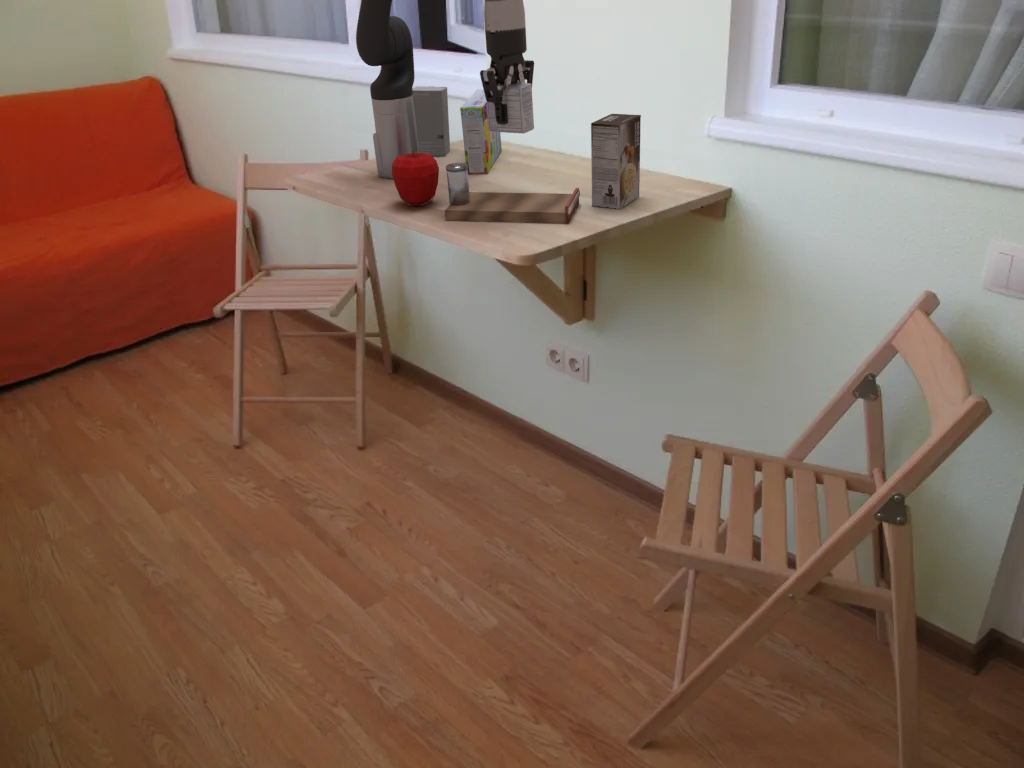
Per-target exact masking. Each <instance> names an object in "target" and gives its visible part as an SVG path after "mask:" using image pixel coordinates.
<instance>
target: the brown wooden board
mask: <svg viewBox="0 0 1024 768" xmlns="http://www.w3.org/2000/svg"><path fill="white" fill-rule="evenodd" d="M469 196H470V203H468V204H465V205H451V204H450V203H449V205H448V206H447V207H446V208H445V209H444V215H445V221H461V220H468V221H467V222H469V221H470V222H502V223H503V222H504V223H505V222H507V223H539V224H540V223H541V224H542V223H544V224H546V223H547V224H569V223H570V221H571V219H572V218H573V215H575V212H576V210H577V209H578V207H579V205H580V196H581V190H580V187H575V189H574V190H573V192H572V193H557V192H556V193H555V192H553V193H551V192H550V193H548V192H545V193H543V192H542V193H541V192H497V191H496V192H495V191H494V192H492V191H491V192H490V191H489V192H487V191H486V192H484V191H469ZM472 220H473V221H472Z"/></svg>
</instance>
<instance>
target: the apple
mask: <svg viewBox="0 0 1024 768" xmlns="http://www.w3.org/2000/svg"><path fill="white" fill-rule="evenodd" d="M439 174H440V167H439V164H438V162H437V159H436V158H434V156H431V155H429V154H427V153H413V151H412V153H409V154H405V155H400V156H397V157H396V159H395V160H394V161H393V163H392V177H393V183H394V187H395V188H396V192H398V195H399V198H400V199H401V201H403V202H405V203H406V204H407V205H408V206H410V207H418V206H419V207H420V206H423V205H425V204H428V203H429V202H430V201H431V200H432V199H434V198H435V196H436V193H437V188H438V185H439Z"/></svg>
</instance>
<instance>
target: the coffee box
mask: <svg viewBox="0 0 1024 768" xmlns="http://www.w3.org/2000/svg"><path fill="white" fill-rule="evenodd" d="M641 117H642V115H641V114H629V113H628V114H626V113H610V114H608V115H606V116H604V117H602V118H600V119H598V120H596V121H593V122H591V123H590V136H591V137H590V139H591V141H590V142H591V143H590V145H591V148H590V151H591V152H590V153H591V154H590V155H591V206H592V207H598V206H600V207H599V208H606V207H609V208H608V209H614V208H616V209H615V210H622V208H624V207H626V206H627V205H628V204H630V203H631V202H633V201H634V200H636V199H637V198H639V197H640V181H641V180H640V179H641V178H640V176H641V175H640V174H641V172H640V171H641V169H640V168H641V167H640V166H641V165H640V164H641Z"/></svg>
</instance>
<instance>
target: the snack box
mask: <svg viewBox="0 0 1024 768" xmlns="http://www.w3.org/2000/svg"><path fill="white" fill-rule="evenodd" d="M459 111H460V118H461V119H460V120H461V128H462V137H463V147H464V156H465V163H466V164H467V165H468V169H467V171H468V175H472V174H471V173H474V174H473V175H477V174H478V175H479V174H480V175H481V174H482V175H483V174H485V175H486V174H487V175H488V174H489V172H490V171H491V169H492V167H493V165H494V163H495V162H496V161H497V159H498V158H499V156H500V154H501V153H502V151H503V148H502V139H501V137H502V136H501V132H490V131H489V121H488V108H487V101H486V97H485V93H484V89H483V88H482V89H481V88H480V89H476V91H474V93H473V94H471V95H470V97H468V99H467V100H466V101H465V102H464V103H463V104H462V105H461V106H460V107H459ZM475 173H476V174H475Z"/></svg>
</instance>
